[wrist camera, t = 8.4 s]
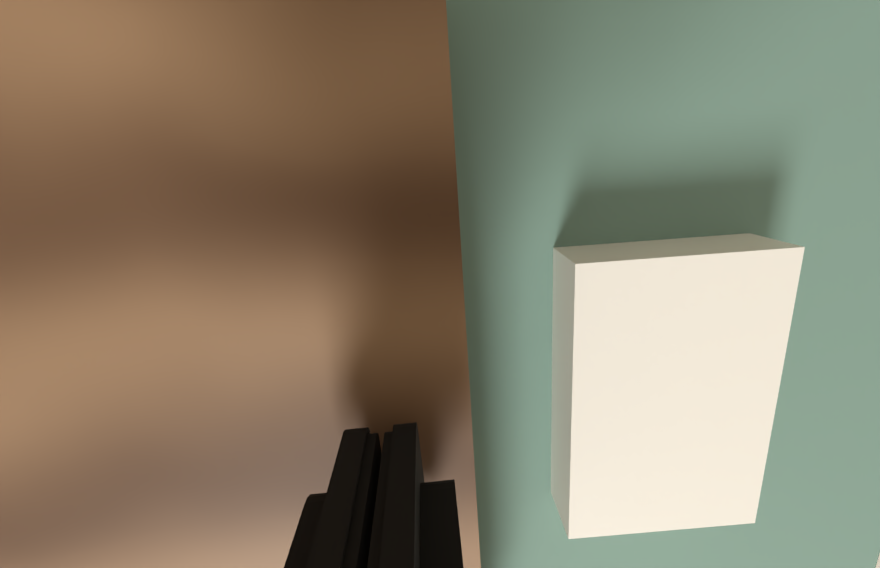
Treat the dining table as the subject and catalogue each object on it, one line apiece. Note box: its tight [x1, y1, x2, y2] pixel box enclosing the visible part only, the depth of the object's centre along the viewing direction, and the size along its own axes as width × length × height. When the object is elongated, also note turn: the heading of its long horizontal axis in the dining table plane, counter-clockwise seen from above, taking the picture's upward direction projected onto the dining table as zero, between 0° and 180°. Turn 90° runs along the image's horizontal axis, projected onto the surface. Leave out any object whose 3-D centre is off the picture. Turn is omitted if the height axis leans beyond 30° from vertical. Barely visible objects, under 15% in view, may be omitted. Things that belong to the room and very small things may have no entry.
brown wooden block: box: [0, 0, 481, 568], centre depth 13 cm, size 22×14×4 cm, turn 4°
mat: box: [446, 0, 880, 568], centre depth 15 cm, size 22×16×1 cm
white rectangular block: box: [551, 233, 805, 539], centre depth 14 cm, size 9×6×2 cm, turn 4°
